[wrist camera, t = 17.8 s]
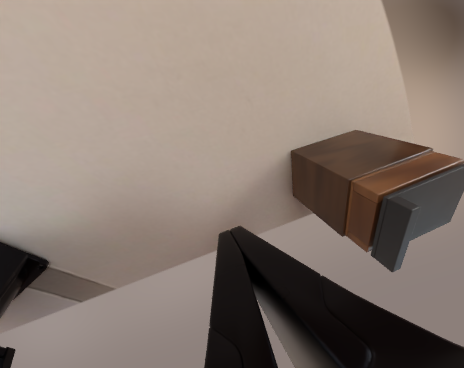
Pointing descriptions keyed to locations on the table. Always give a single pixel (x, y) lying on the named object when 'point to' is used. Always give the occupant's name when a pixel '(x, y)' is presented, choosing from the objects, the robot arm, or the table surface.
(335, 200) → the cabinet body
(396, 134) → the table surface
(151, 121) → the table surface
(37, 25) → the table surface
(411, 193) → the lid
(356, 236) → the tray
